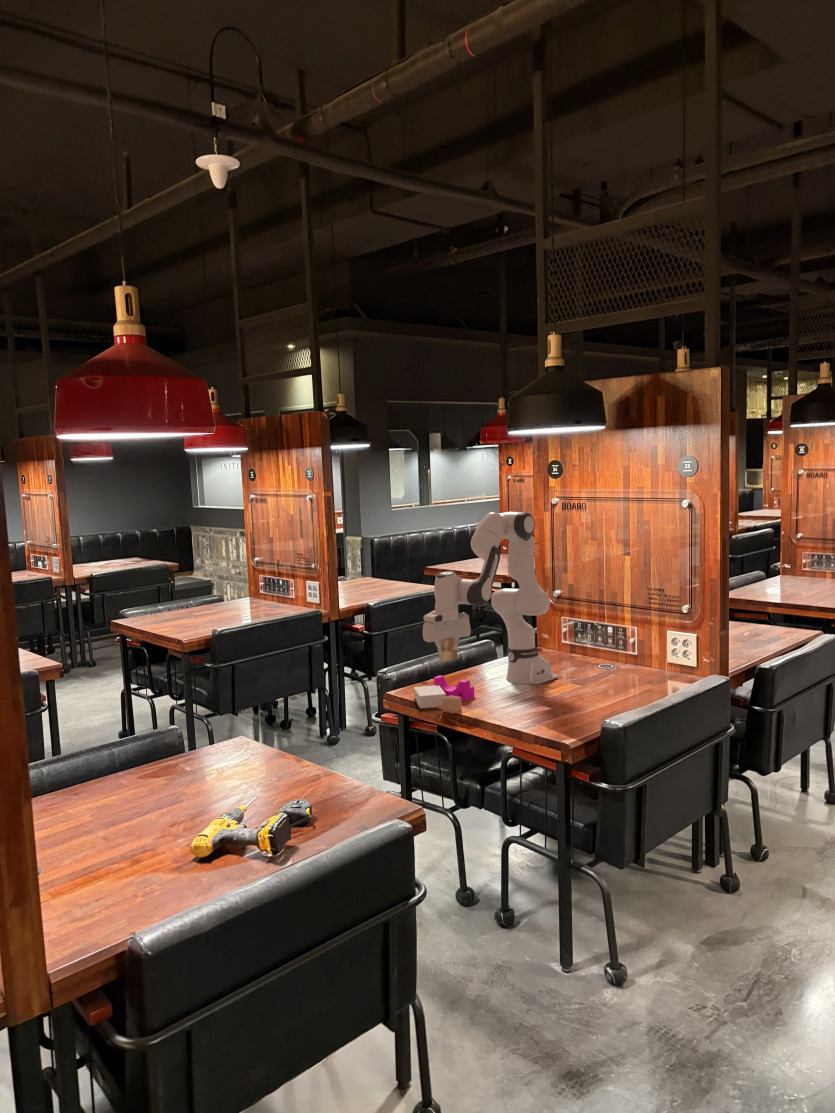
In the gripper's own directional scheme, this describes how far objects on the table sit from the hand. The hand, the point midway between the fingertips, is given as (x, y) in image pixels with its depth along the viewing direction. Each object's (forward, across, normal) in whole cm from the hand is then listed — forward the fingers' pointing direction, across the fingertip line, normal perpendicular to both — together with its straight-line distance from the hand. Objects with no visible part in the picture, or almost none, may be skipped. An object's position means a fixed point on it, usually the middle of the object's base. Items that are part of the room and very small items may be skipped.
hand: (447, 650), depth 304 cm
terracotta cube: (+20, +5, +10) cm, 23 cm away
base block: (+20, +5, -5) cm, 22 cm away
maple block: (+3, 0, 0) cm, 3 cm away
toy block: (+20, -7, -6) cm, 22 cm away
